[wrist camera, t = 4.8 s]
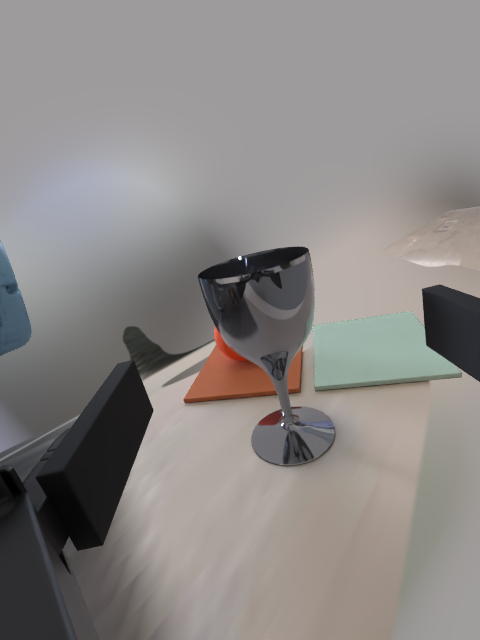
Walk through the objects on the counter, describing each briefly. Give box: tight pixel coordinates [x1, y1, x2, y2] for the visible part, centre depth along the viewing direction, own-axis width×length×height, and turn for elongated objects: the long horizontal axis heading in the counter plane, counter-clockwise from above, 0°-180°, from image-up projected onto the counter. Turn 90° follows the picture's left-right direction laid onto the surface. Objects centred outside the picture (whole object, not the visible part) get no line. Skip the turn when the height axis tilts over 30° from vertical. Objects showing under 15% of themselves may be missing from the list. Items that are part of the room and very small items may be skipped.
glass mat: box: [313, 311, 462, 391], centre depth 38 cm, size 13×16×1 cm
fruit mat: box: [184, 345, 303, 403], centre depth 42 cm, size 13×16×1 cm
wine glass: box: [198, 247, 335, 465], centre depth 25 cm, size 8×8×15 cm
